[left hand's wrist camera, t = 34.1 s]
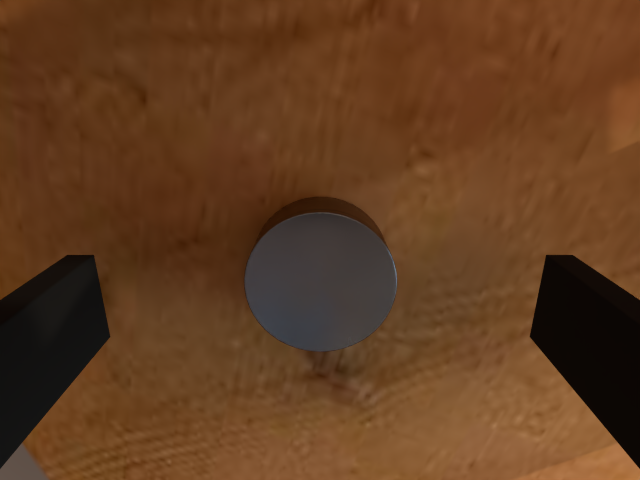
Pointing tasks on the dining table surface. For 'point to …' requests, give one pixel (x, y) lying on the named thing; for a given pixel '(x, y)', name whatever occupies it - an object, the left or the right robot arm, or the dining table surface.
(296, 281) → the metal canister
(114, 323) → the dining table surface
